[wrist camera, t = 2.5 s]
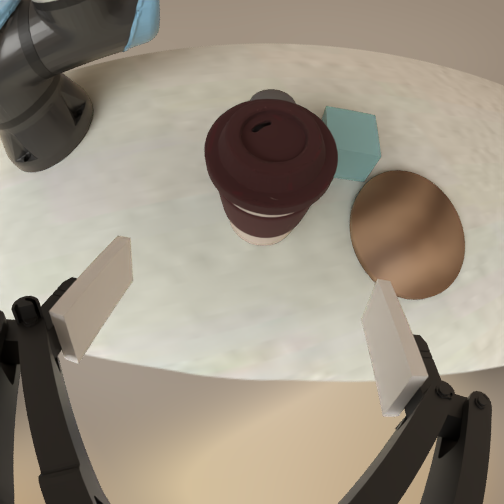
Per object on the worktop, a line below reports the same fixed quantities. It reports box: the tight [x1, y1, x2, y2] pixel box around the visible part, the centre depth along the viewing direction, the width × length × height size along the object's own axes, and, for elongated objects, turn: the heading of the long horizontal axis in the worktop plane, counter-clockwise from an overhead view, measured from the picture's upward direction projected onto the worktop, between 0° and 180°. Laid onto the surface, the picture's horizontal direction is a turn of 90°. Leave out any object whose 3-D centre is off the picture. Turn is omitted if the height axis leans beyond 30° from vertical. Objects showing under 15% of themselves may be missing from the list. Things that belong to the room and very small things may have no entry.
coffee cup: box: [205, 99, 338, 245], centre depth 28 cm, size 10×10×15 cm
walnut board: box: [350, 170, 465, 300], centre depth 35 cm, size 16×16×1 cm
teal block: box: [322, 106, 381, 182], centre depth 35 cm, size 6×6×6 cm
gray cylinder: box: [250, 89, 296, 104], centre depth 35 cm, size 5×5×7 cm
